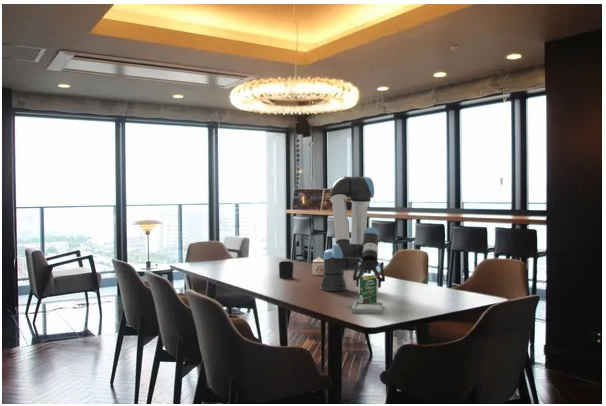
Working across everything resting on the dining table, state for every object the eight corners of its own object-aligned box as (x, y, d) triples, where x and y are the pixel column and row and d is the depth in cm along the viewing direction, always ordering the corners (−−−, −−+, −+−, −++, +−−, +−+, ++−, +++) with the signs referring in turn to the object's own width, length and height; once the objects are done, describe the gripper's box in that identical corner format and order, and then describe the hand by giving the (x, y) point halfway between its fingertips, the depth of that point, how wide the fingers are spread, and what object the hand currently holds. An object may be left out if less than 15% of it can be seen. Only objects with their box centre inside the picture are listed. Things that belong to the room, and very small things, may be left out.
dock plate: (351, 312, 237) (351, 308, 237) (354, 305, 253) (354, 301, 252) (382, 314, 234) (382, 309, 234) (383, 307, 250) (383, 302, 250)
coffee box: (362, 304, 240) (362, 276, 240) (359, 303, 243) (359, 275, 243) (377, 303, 244) (377, 275, 243) (373, 302, 246) (374, 274, 246)
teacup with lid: (316, 275, 346) (316, 258, 345) (309, 273, 354) (310, 256, 353) (331, 274, 351) (331, 257, 351) (325, 272, 359) (325, 255, 359)
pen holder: (275, 277, 336) (276, 262, 336) (286, 275, 343) (286, 260, 342) (286, 279, 329) (286, 263, 329) (296, 277, 336) (296, 262, 336)
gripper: (348, 248, 256) (345, 286, 241) (391, 249, 253) (390, 288, 237) (349, 258, 262) (346, 295, 246) (391, 259, 258) (390, 297, 242)
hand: (368, 292), depth 241 cm, fingers closed on coffee box, 8 cm apart
